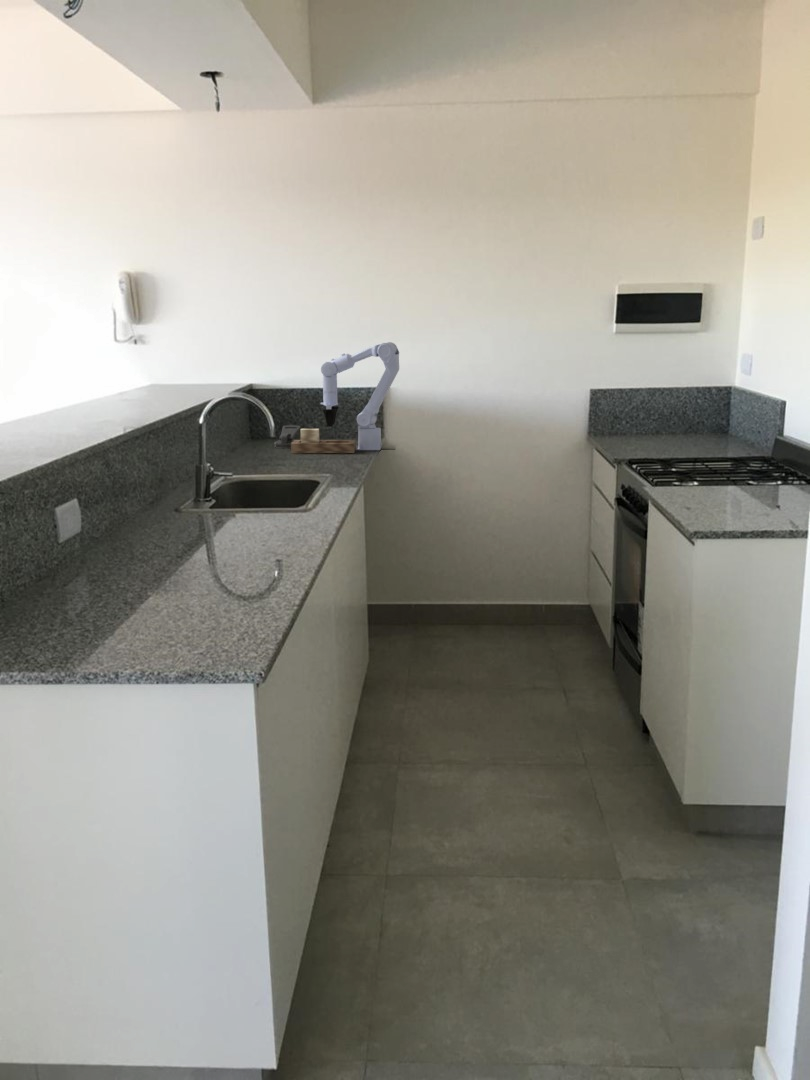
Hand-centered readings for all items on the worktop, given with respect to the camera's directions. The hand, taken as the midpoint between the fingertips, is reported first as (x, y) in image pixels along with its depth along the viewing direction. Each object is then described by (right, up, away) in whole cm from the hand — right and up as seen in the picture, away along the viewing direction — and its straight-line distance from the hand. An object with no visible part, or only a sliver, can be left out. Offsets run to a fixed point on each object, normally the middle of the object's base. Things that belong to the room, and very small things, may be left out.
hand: (330, 425), depth 374 cm
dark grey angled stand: (-19, -7, +14) cm, 24 cm away
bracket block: (-8, -11, -7) cm, 15 cm away
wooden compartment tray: (-2, -12, -7) cm, 14 cm away
